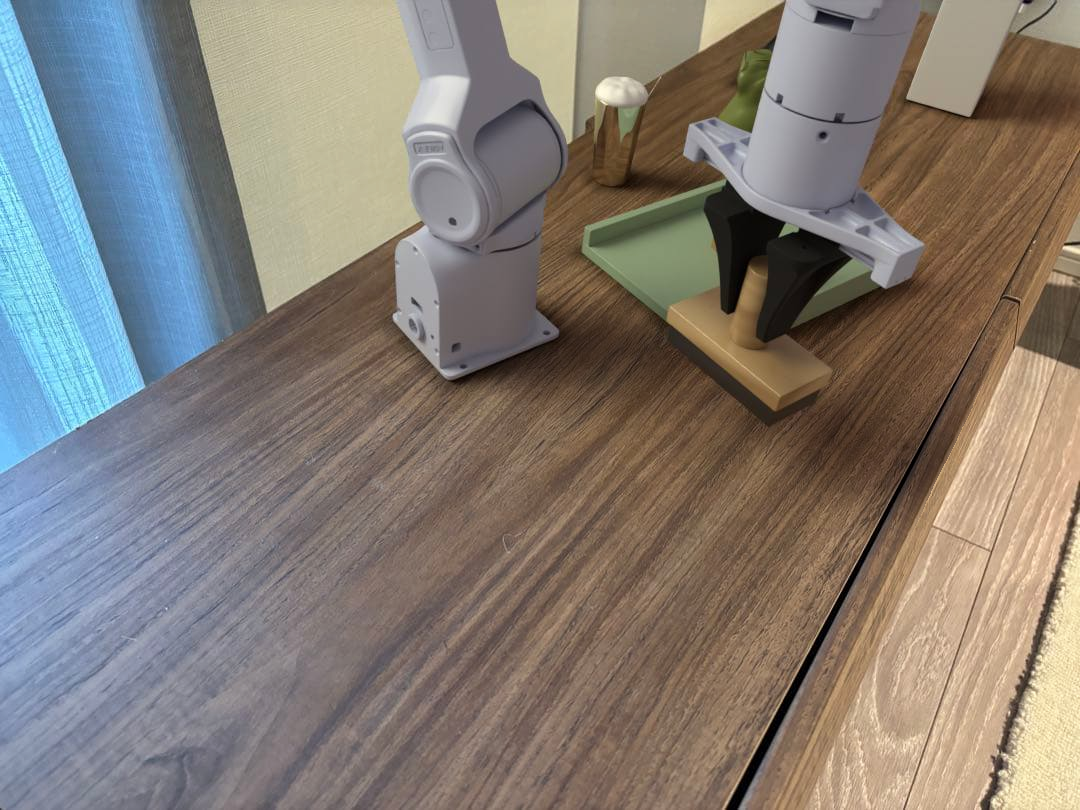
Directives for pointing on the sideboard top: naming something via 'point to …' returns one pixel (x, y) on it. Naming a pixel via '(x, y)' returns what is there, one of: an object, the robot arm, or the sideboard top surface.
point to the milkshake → (617, 128)
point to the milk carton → (962, 53)
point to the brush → (747, 350)
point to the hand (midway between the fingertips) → (754, 320)
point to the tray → (689, 255)
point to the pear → (748, 90)
